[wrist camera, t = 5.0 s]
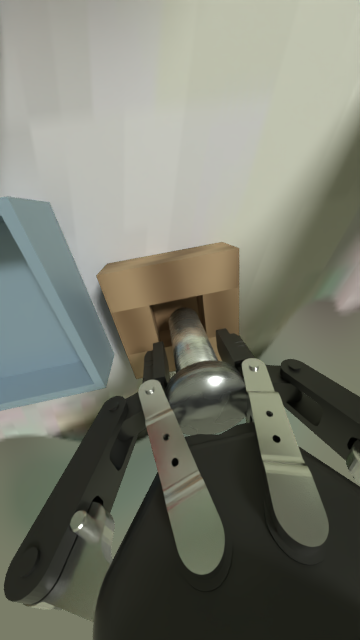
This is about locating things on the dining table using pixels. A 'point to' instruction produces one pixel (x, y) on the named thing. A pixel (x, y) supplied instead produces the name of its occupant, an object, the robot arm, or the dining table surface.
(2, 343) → the pin tray
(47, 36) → the dining table surface
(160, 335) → the wooden square hole block
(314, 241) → the dining table surface
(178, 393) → the pin
